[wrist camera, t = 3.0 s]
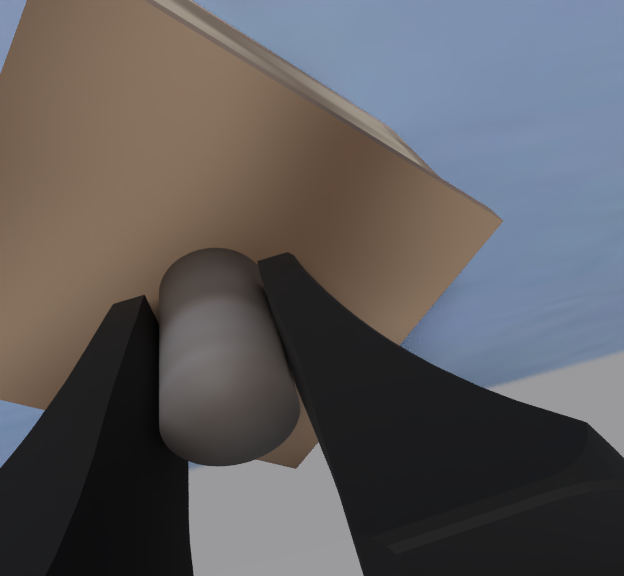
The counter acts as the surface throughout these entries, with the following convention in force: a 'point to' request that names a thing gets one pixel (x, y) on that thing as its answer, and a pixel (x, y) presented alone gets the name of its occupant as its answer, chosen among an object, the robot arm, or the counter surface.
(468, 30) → the counter surface
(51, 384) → the lid
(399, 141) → the box
